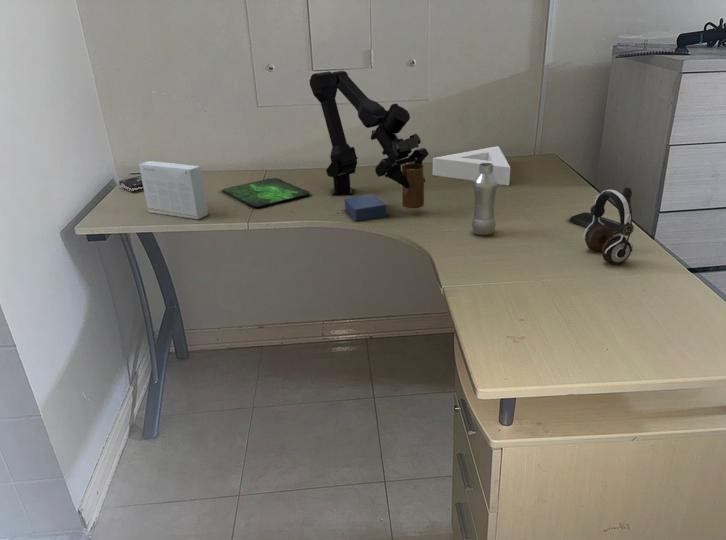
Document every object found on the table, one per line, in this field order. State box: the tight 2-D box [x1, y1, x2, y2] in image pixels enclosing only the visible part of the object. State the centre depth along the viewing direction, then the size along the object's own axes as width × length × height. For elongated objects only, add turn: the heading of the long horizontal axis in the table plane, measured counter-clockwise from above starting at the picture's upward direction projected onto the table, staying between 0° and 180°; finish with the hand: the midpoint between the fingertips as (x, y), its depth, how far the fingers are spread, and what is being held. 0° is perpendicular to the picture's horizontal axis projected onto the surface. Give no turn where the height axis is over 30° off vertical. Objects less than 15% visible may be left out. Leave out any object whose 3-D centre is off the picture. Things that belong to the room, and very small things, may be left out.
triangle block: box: [432, 145, 511, 186], centre depth 235 cm, size 30×26×6 cm
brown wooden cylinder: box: [401, 163, 425, 209], centre depth 197 cm, size 7×7×12 cm
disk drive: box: [118, 175, 144, 193], centre depth 235 cm, size 10×3×15 cm
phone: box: [569, 211, 620, 235], centre depth 188 cm, size 8×1×15 cm
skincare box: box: [138, 160, 209, 220], centre depth 204 cm, size 21×6×16 cm, turn 65°
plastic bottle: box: [471, 163, 498, 236], centre depth 180 cm, size 6×7×20 cm
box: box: [343, 193, 388, 222], centre depth 202 cm, size 11×10×4 cm
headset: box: [583, 186, 635, 265], centre depth 163 cm, size 17×8×20 cm, turn 13°
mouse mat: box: [221, 177, 311, 208], centre depth 224 cm, size 27×22×1 cm
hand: (416, 184), depth 196 cm, fingers closed on brown wooden cylinder, 6 cm apart
